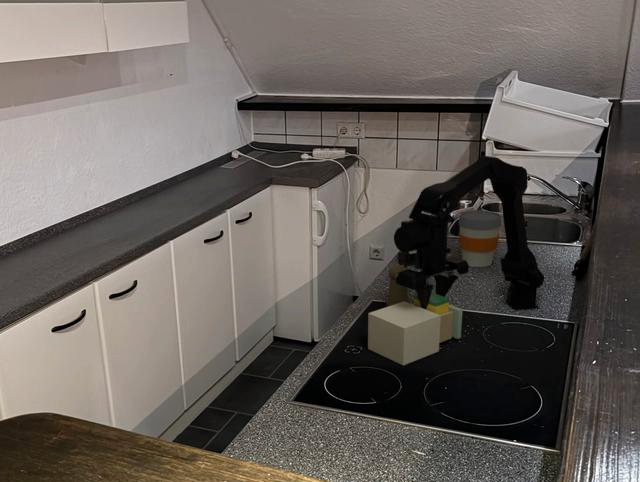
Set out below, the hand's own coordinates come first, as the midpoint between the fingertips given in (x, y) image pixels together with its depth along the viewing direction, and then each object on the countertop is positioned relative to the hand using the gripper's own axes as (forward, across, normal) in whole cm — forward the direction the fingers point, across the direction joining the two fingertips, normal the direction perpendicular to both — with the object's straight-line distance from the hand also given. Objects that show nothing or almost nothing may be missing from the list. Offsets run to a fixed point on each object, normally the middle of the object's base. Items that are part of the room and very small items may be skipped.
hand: (431, 306), depth 180 cm
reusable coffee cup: (+9, -54, -31) cm, 63 cm away
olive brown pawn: (+9, -10, -21) cm, 25 cm away
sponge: (+1, 0, 0) cm, 1 cm away
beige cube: (+9, +9, 0) cm, 12 cm away
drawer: (+8, 0, 0) cm, 8 cm away
